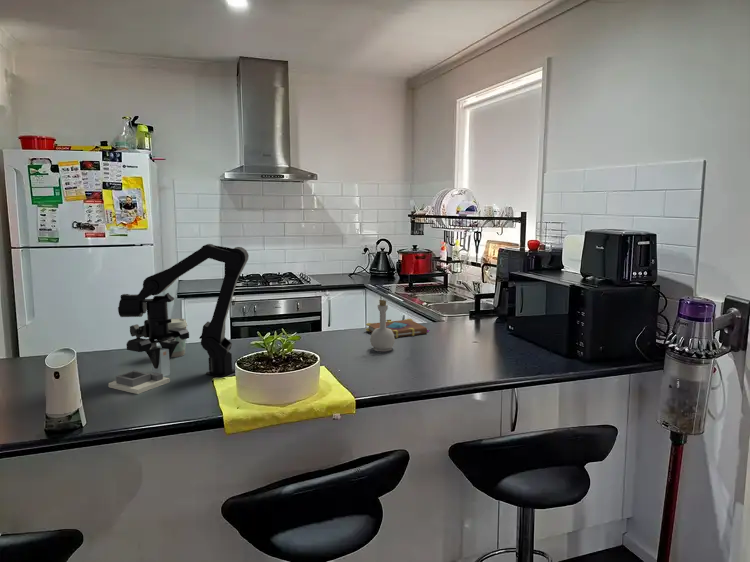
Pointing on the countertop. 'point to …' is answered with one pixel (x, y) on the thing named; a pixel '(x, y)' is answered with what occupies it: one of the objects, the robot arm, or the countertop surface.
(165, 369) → the plug
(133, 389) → the board
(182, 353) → the coffee cup
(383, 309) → the potion bottle
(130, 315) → the robot arm
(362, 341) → the countertop surface
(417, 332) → the book
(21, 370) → the countertop surface
